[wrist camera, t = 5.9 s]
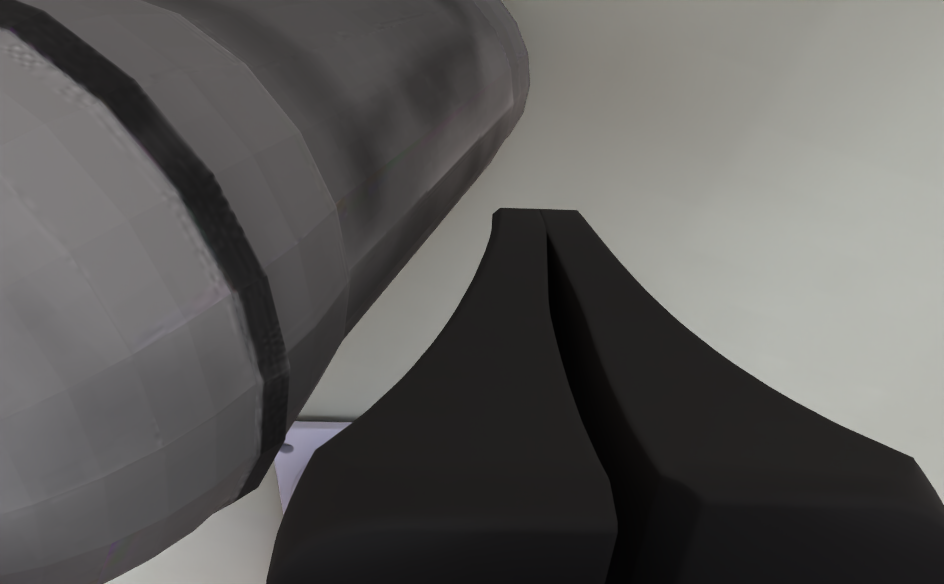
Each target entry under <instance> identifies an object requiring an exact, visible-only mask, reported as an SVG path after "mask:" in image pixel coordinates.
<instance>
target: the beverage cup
mask: <svg viewBox="0 0 944 584" xmlns="http://www.w3.org/2000/svg"><path fill="white" fill-rule="evenodd" d="M529 86H530V77H529V63H528V52H527V50H526V47H525V44H524V41H523V39H522V36H521V33H520V30H519V28H518V25H517V23H516V21H515V20H514V19H513V17H512V16H511V15H510V13H509V12H508V10H507V9H506V8H505V6H504V5H503V4H502V2H501V1H500V0H0V584H104V583H106V582H108V581H110V580H112V579H114V578H116V577H118V576H120V575H122V574H124V573H126V572H127V571H129V570H131V569H133V568H135V567H137V566H139V565H141V564H143V563H145V562H146V561H148V560H150V559H152V558H153V557H155V556H156V555H158V554H159V553H161V552H162V551H164V550H165V549H167V548H168V547H170V546H171V545H173V544H174V543H176V542H177V541H179V540H180V539H182V538H184V537H185V536H187V535H188V534H190V533H191V532H193V531H194V530H195V529H196V528H197V527H198V526H200V525H201V524H202V523H203V522H204V521H205V520H206V519H207V518H209V517H210V516H211V515H212V514H213V513H215V512H217V511H219V510H221V509H223V508H224V507H226V506H228V505H230V504H232V503H234V502H235V501H237V500H238V499H240V498H242V497H243V496H245V495H247V494H248V493H250V492H251V491H253V490H255V489H256V488H258V487H259V485H260V483H261V482H262V480H263V478H264V476H265V475H266V473H267V471H268V469H269V468H270V466H271V464H272V462H273V461H274V459H275V457H276V455H277V454H278V452H279V450H280V448H281V447H282V445H283V443H284V441H285V440H286V434H287V433H288V431H289V429H290V428H291V426H292V424H293V423H294V421H295V420H296V418H297V416H298V415H299V413H300V411H301V410H302V408H303V407H304V405H305V403H306V402H307V400H308V398H309V397H310V395H311V394H312V392H313V390H314V389H315V387H316V385H317V384H318V382H319V381H320V379H321V377H322V375H323V374H324V372H325V370H326V368H327V367H328V365H329V363H330V361H331V360H332V358H333V356H334V354H335V353H336V351H337V349H338V347H339V346H340V344H341V342H342V341H343V339H344V338H345V337H346V336H347V335H348V333H349V332H350V331H351V330H352V329H353V327H354V326H355V325H356V324H357V323H358V321H359V320H360V319H361V318H362V316H363V315H364V314H365V313H366V312H367V310H368V309H369V308H370V307H371V306H372V304H373V303H374V302H375V301H376V300H377V298H378V297H379V296H380V295H381V294H382V292H383V291H384V290H385V289H386V288H387V286H388V285H389V284H390V283H391V282H392V280H393V279H394V278H395V277H396V276H397V274H398V273H399V272H400V271H401V270H402V268H403V267H404V266H405V265H406V264H407V262H408V261H409V260H410V259H411V258H412V256H413V255H414V254H415V253H416V252H417V250H418V249H419V248H420V247H421V246H422V244H423V243H424V242H425V241H426V239H427V238H428V237H429V236H430V235H431V233H432V232H433V231H434V230H435V229H436V227H437V226H438V225H439V224H440V223H441V221H442V220H443V219H444V218H445V217H446V215H447V214H448V213H449V212H450V211H451V209H452V208H453V207H454V206H455V205H456V203H457V202H458V201H459V200H460V199H461V197H462V196H463V195H464V194H465V193H466V191H467V190H468V189H469V188H470V187H471V185H472V184H473V183H474V182H475V181H476V179H477V178H478V177H479V176H480V175H481V173H482V172H483V171H484V170H485V169H486V167H487V166H488V165H489V164H490V162H491V161H492V159H493V158H494V156H495V154H496V153H497V151H498V149H499V148H500V146H501V145H502V143H503V141H504V140H505V139H506V138H507V137H508V136H509V135H510V133H511V132H512V130H513V128H514V127H515V125H516V124H517V122H518V120H519V119H520V117H521V116H522V114H523V112H524V107H525V103H526V99H527V95H528V91H529Z"/></svg>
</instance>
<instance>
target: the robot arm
mask: <svg viewBox="0 0 944 584" xmlns="http://www.w3.org/2000/svg"><path fill="white" fill-rule="evenodd" d="M284 443H287V444H290V445H287V444H284ZM284 443H283V445H282V447H281V448H280V450H279V452H278V454H277V455H276V457H275V459H274V463H275V469H276V475H277V481H278V486H279V492H280V498H281V504H282V510H283V519H282V522H281V524H280V527H279V530H278V533H277V536H276V540H275V544H274V548H273V553H272V557H271V562H270V566H269V571H268V575H267V580H266V584H944V505H943V503H942V501H941V500H940V498H939V496H938V494H937V493H936V491H935V489H934V488H933V486H932V485H931V483H930V482H929V480H928V479H927V477H926V476H925V474H924V473H923V471H922V470H921V468H920V467H919V465H918V464H917V463H916V461H915V460H914V458H913V457H910V456H908V455H906V454H904V453H901V452H899V451H897V450H895V449H892V448H890V447H888V446H886V445H883V444H881V443H879V442H877V441H874V440H872V439H870V438H868V437H865V436H863V435H861V434H859V433H856V432H854V431H852V430H850V429H847V428H845V427H843V426H841V425H839V424H837V423H835V422H833V421H831V420H829V419H827V418H825V417H823V416H821V415H819V414H817V413H816V412H814V411H812V410H810V409H808V408H806V407H804V406H802V405H800V404H799V403H797V402H795V401H793V400H791V399H790V398H788V397H786V396H784V395H783V394H781V393H779V392H778V391H776V390H774V389H772V388H771V387H769V386H767V385H766V384H764V383H763V382H761V381H760V380H758V379H757V378H755V377H754V376H752V375H750V374H749V373H747V372H746V371H744V370H743V369H741V368H740V367H738V366H737V365H735V364H734V363H732V362H731V361H729V360H728V359H727V358H725V357H724V356H722V355H721V354H719V353H718V352H717V351H715V350H714V349H713V348H712V347H710V346H709V345H708V344H706V343H705V342H704V341H703V340H701V339H700V338H699V337H698V336H696V335H695V334H694V333H692V332H691V331H690V330H689V329H687V328H686V327H685V326H684V325H683V324H681V323H680V322H679V321H678V320H677V319H676V318H675V317H673V316H672V315H671V314H670V313H669V312H668V311H667V310H666V309H665V308H664V307H663V306H662V305H661V304H660V303H659V302H657V301H656V300H655V299H654V298H653V297H652V296H651V295H650V294H649V293H648V292H647V291H646V290H645V289H644V288H643V287H642V286H641V285H640V284H639V283H638V281H637V280H636V279H635V278H634V277H633V276H632V275H631V274H630V273H629V272H628V270H627V269H626V268H625V267H624V266H623V265H622V264H621V263H620V261H619V260H618V259H617V258H616V257H615V256H614V254H613V253H612V252H611V251H610V250H609V248H608V247H607V246H606V245H605V244H604V242H603V241H602V240H601V239H600V237H599V236H598V235H597V234H596V233H595V231H594V230H593V229H592V227H591V226H590V225H589V224H588V223H587V221H586V220H585V219H584V218H583V216H582V215H581V214H580V213H579V212H578V211H577V210H552V209H519V208H500V209H498V210H497V211H496V212H495V213H493V216H492V231H491V235H490V239H489V242H488V245H487V248H486V251H485V253H484V255H483V258H482V260H481V262H480V265H479V267H478V269H477V272H476V274H475V276H474V278H473V280H472V282H471V284H470V286H469V287H468V289H467V291H466V293H465V294H464V296H463V298H462V300H461V302H460V303H459V305H458V307H457V309H456V310H455V312H454V313H453V315H452V316H451V318H450V319H449V321H448V322H447V324H446V325H445V327H444V328H443V330H442V331H441V332H440V334H439V335H438V336H437V338H436V339H435V340H434V342H433V343H432V344H431V346H430V347H429V348H428V349H427V350H426V352H425V353H424V354H423V355H422V356H421V357H420V359H419V360H418V361H417V362H416V363H415V365H414V366H413V367H412V368H411V369H410V370H409V371H408V372H407V373H406V374H405V376H404V377H403V378H402V379H401V380H400V381H399V382H398V383H397V384H396V385H394V386H393V387H392V388H391V389H390V390H389V391H388V392H387V393H386V394H385V395H384V396H383V397H382V398H380V399H379V400H378V401H377V402H376V403H375V404H374V405H373V406H372V407H371V408H370V409H369V410H367V411H366V412H365V413H364V414H363V415H361V416H360V417H359V418H358V419H356V420H355V421H354V422H305V421H294V423H293V424H292V426H291V428H290V429H289V431H288V433H287V434H286V440H285V441H284Z"/></svg>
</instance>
